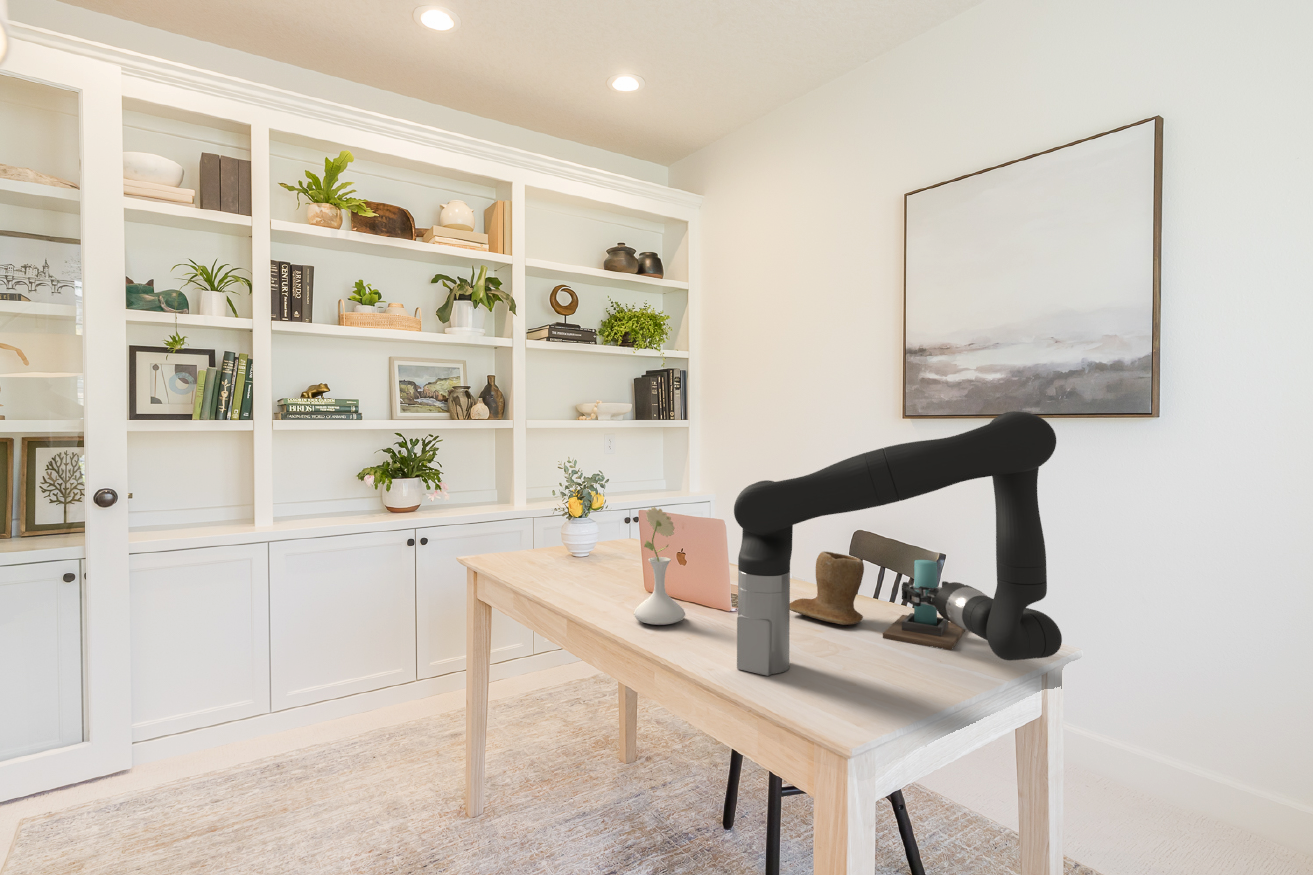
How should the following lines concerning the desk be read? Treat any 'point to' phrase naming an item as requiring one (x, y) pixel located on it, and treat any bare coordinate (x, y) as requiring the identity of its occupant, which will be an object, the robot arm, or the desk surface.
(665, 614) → the flower in vase
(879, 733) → the desk surface
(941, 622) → the walnut base board
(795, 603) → the brown hollow flared cylinder
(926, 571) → the teal pillar
